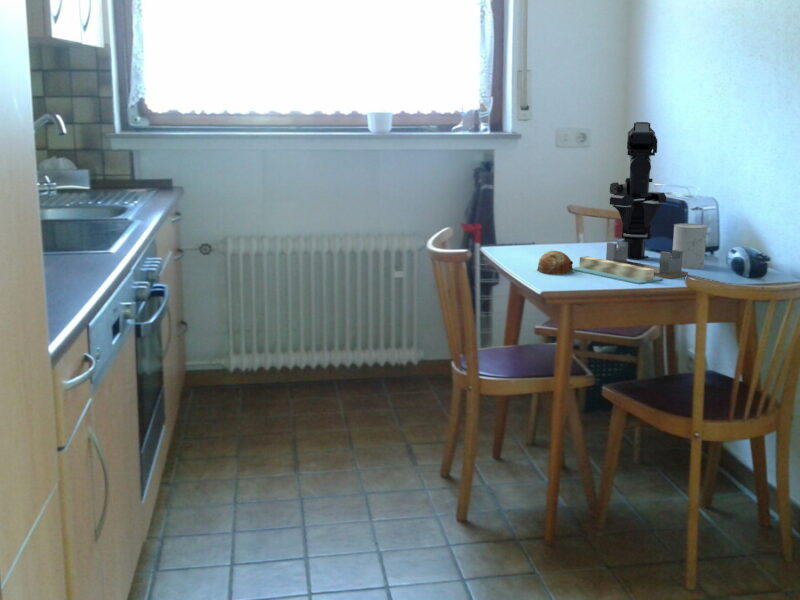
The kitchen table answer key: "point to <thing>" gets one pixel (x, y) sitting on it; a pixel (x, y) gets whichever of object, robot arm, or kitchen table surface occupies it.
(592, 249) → the kitchen table surface
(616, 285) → the kitchen table surface
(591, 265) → the rail
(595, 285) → the kitchen table surface
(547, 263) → the bread roll
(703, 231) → the grey stone cylinder
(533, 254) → the kitchen table surface
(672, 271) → the bracketed wooden plank
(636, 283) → the mat
